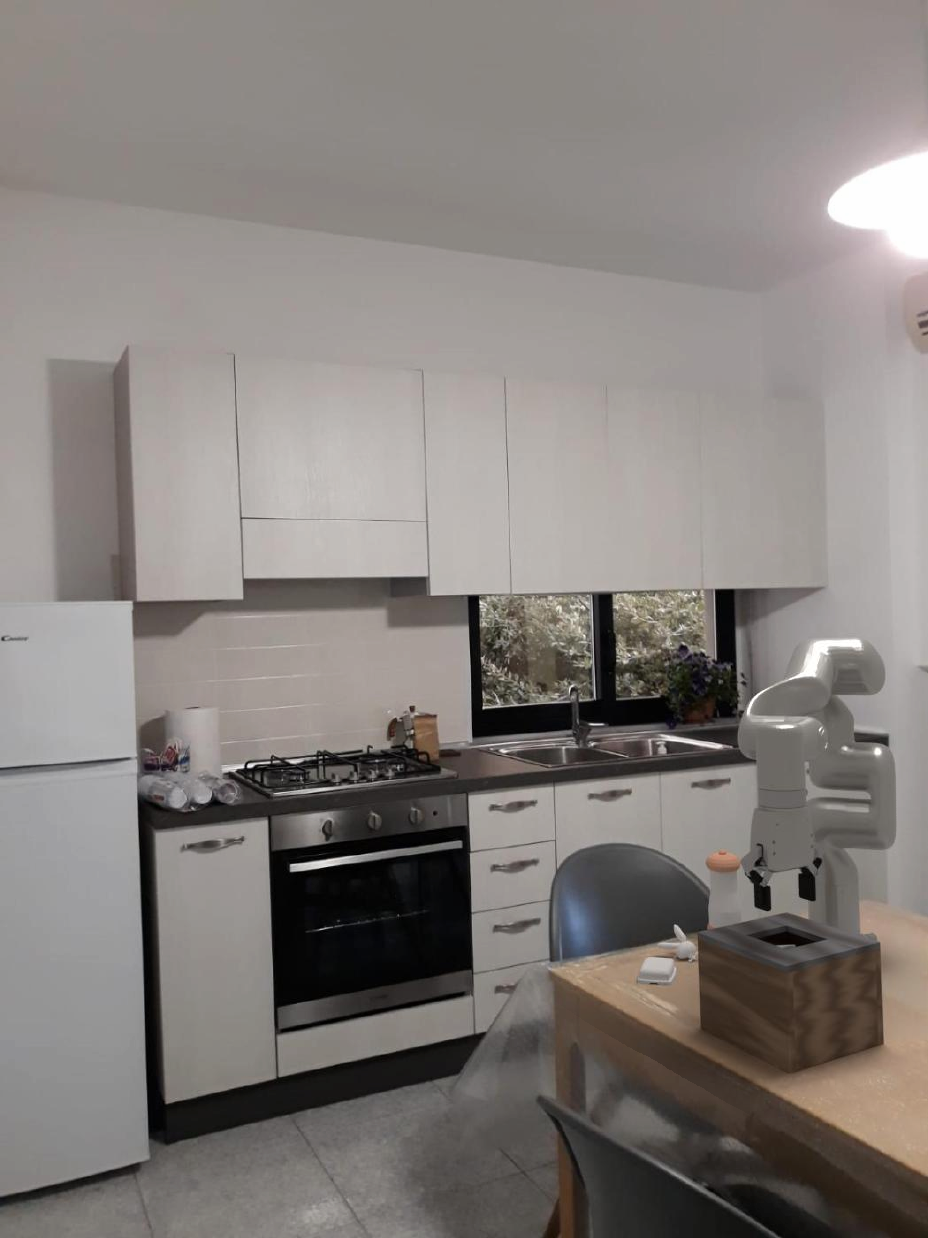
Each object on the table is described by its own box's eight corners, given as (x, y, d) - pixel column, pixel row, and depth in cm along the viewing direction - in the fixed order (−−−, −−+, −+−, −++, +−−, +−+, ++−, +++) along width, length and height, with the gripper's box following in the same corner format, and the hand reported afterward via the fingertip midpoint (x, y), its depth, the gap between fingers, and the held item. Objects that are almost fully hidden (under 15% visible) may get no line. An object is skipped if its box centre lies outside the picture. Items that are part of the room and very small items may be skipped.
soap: (643, 969, 205) (642, 954, 205) (678, 971, 203) (677, 956, 203) (635, 985, 197) (635, 969, 197) (672, 988, 194) (671, 972, 194)
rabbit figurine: (684, 966, 205) (654, 940, 210) (686, 975, 208) (656, 950, 213) (705, 945, 207) (674, 920, 212) (706, 955, 210) (676, 930, 215)
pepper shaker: (719, 934, 224) (716, 844, 223) (750, 941, 218) (747, 849, 218) (701, 942, 218) (697, 850, 218) (731, 950, 213) (728, 855, 213)
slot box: (789, 1003, 184) (786, 912, 183) (883, 1043, 166) (880, 942, 166) (700, 1028, 174) (697, 932, 174) (790, 1073, 157) (786, 966, 156)
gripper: (803, 789, 177) (807, 891, 177) (724, 801, 169) (728, 908, 169) (838, 795, 171) (841, 901, 171) (757, 808, 162) (761, 919, 163)
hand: (785, 904), depth 170 cm, fingers open, 9 cm apart
